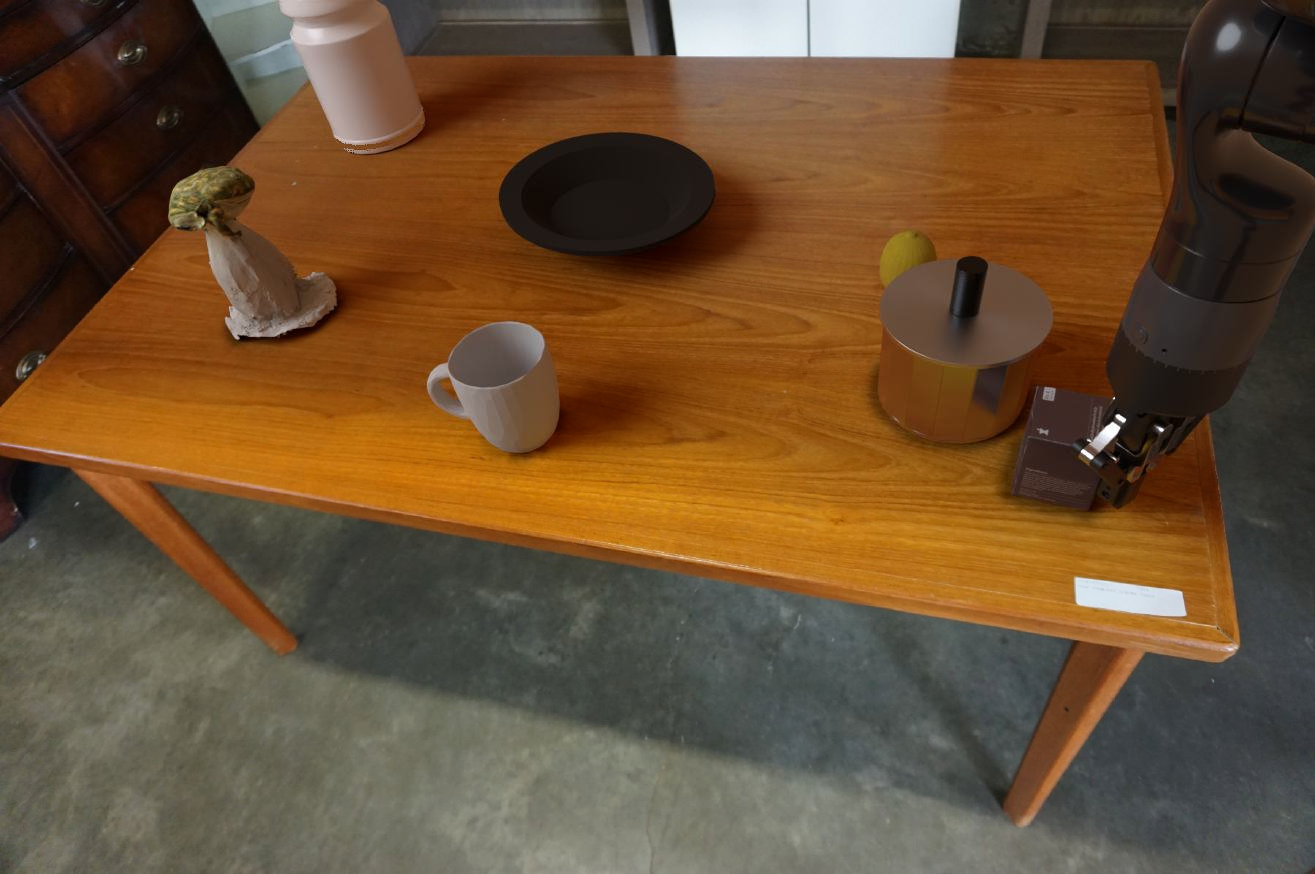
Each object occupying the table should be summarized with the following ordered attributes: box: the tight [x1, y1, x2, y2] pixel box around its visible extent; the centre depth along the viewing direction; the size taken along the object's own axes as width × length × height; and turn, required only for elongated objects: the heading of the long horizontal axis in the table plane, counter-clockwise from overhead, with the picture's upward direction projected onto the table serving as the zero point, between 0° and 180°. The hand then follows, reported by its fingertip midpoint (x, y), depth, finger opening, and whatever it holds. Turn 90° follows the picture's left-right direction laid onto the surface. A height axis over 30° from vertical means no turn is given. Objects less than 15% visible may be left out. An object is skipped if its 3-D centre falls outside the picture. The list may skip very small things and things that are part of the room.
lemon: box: [879, 230, 938, 289], centre depth 84 cm, size 6×6×8 cm
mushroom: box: [167, 165, 338, 340], centre depth 92 cm, size 12×13×18 cm
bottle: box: [278, 0, 426, 155], centre depth 117 cm, size 14×14×28 cm
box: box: [1010, 385, 1113, 512], centre depth 67 cm, size 6×6×7 cm
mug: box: [426, 320, 561, 454], centre depth 78 cm, size 13×9×10 cm
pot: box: [876, 327, 1042, 445], centre depth 74 cm, size 13×13×10 cm
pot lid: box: [878, 255, 1054, 369], centre depth 69 cm, size 14×14×6 cm
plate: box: [498, 131, 717, 258], centre depth 100 cm, size 28×24×6 cm
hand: (1114, 497), depth 64 cm, fingers closed
